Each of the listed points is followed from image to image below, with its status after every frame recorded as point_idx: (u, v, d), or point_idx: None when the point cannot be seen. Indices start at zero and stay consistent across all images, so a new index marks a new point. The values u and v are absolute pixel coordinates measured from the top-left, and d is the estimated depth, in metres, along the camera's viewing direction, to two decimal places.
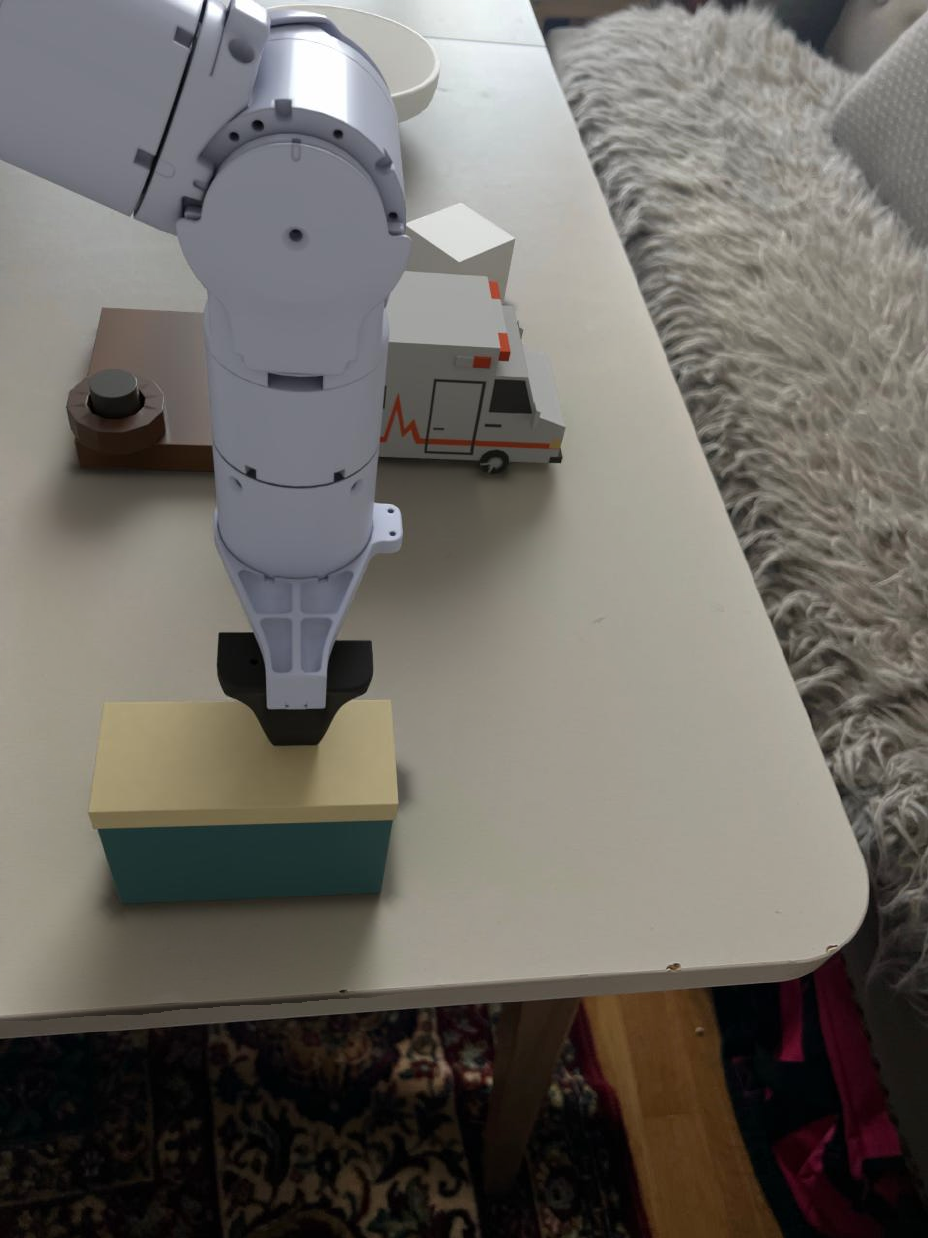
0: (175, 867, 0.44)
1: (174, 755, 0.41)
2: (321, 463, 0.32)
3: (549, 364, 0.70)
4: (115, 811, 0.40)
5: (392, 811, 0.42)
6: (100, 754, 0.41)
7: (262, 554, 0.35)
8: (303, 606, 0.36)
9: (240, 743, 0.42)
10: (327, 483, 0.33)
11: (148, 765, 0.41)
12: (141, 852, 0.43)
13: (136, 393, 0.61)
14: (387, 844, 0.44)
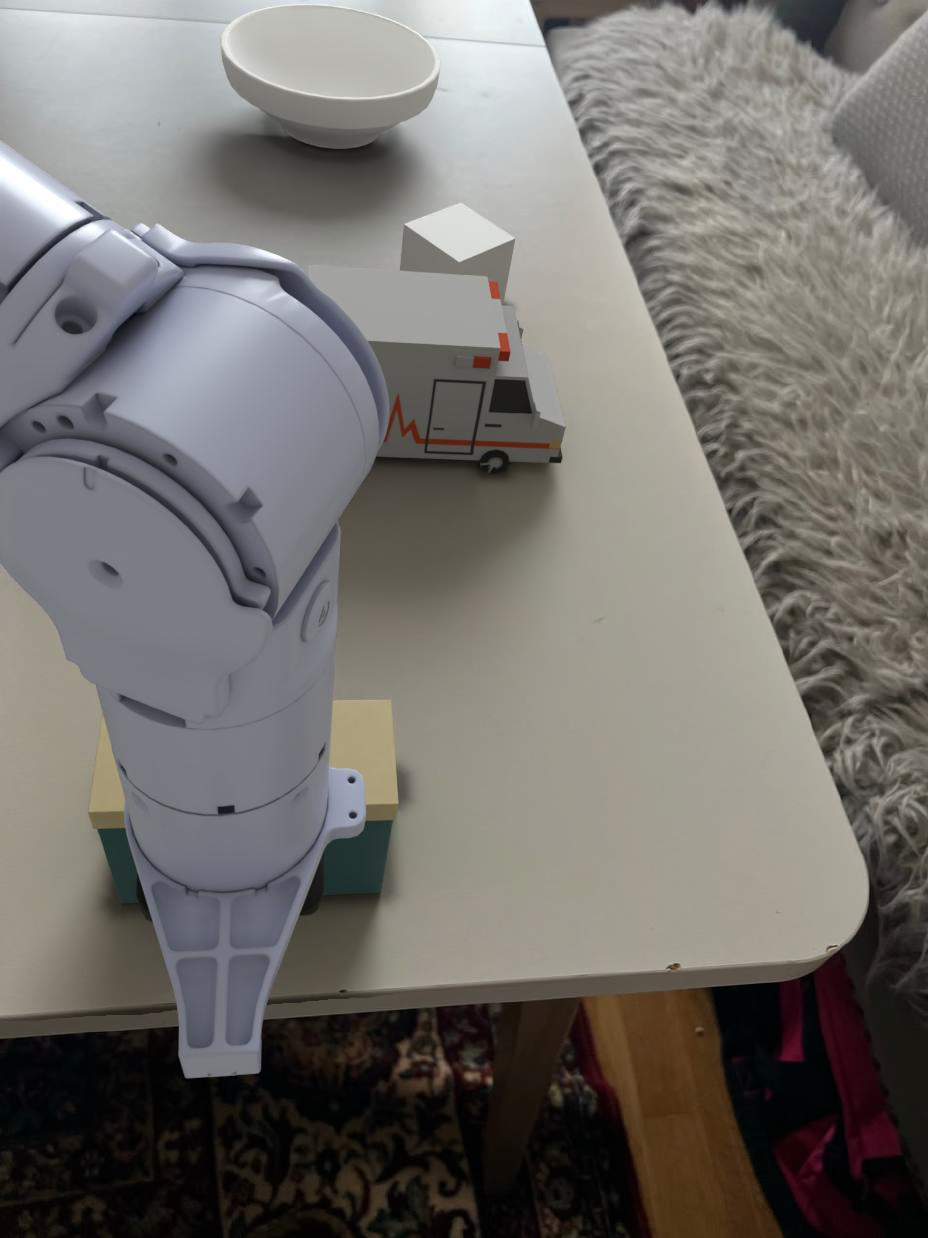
0: None
1: None
2: (197, 794, 0.24)
3: (549, 364, 0.70)
4: (115, 811, 0.40)
5: (392, 811, 0.42)
6: (100, 754, 0.41)
7: (181, 869, 0.28)
8: (234, 931, 0.28)
9: None
10: (258, 807, 0.25)
11: None
12: None
13: None
14: (387, 844, 0.44)
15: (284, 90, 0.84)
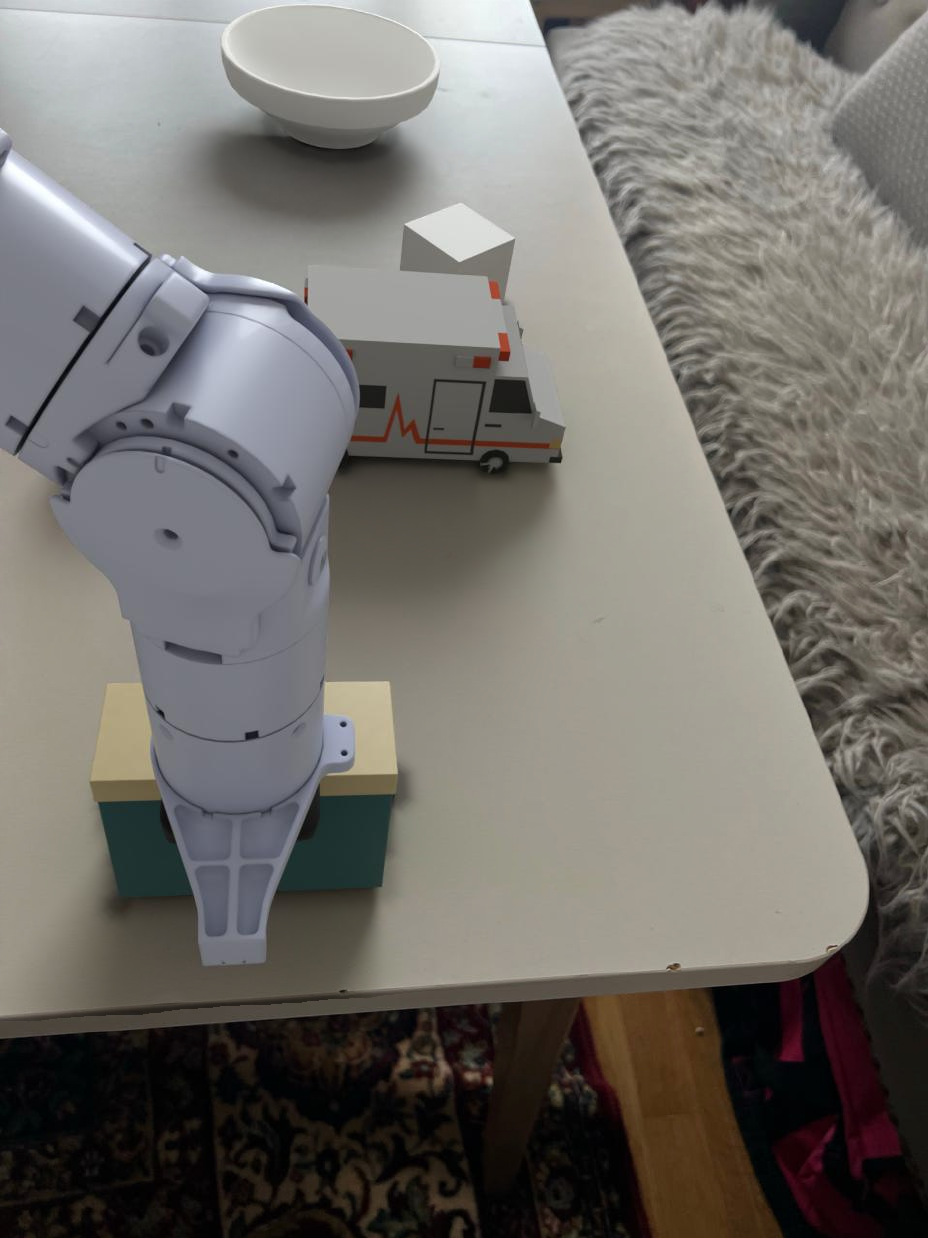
0: (175, 851, 0.44)
1: None
2: (228, 723, 0.29)
3: (549, 364, 0.70)
4: (116, 780, 0.40)
5: (392, 783, 0.42)
6: (102, 729, 0.42)
7: (199, 793, 0.33)
8: (244, 846, 0.33)
9: None
10: (264, 735, 0.30)
11: (150, 739, 0.41)
12: (141, 831, 0.43)
13: None
14: (387, 825, 0.44)
15: (284, 90, 0.84)
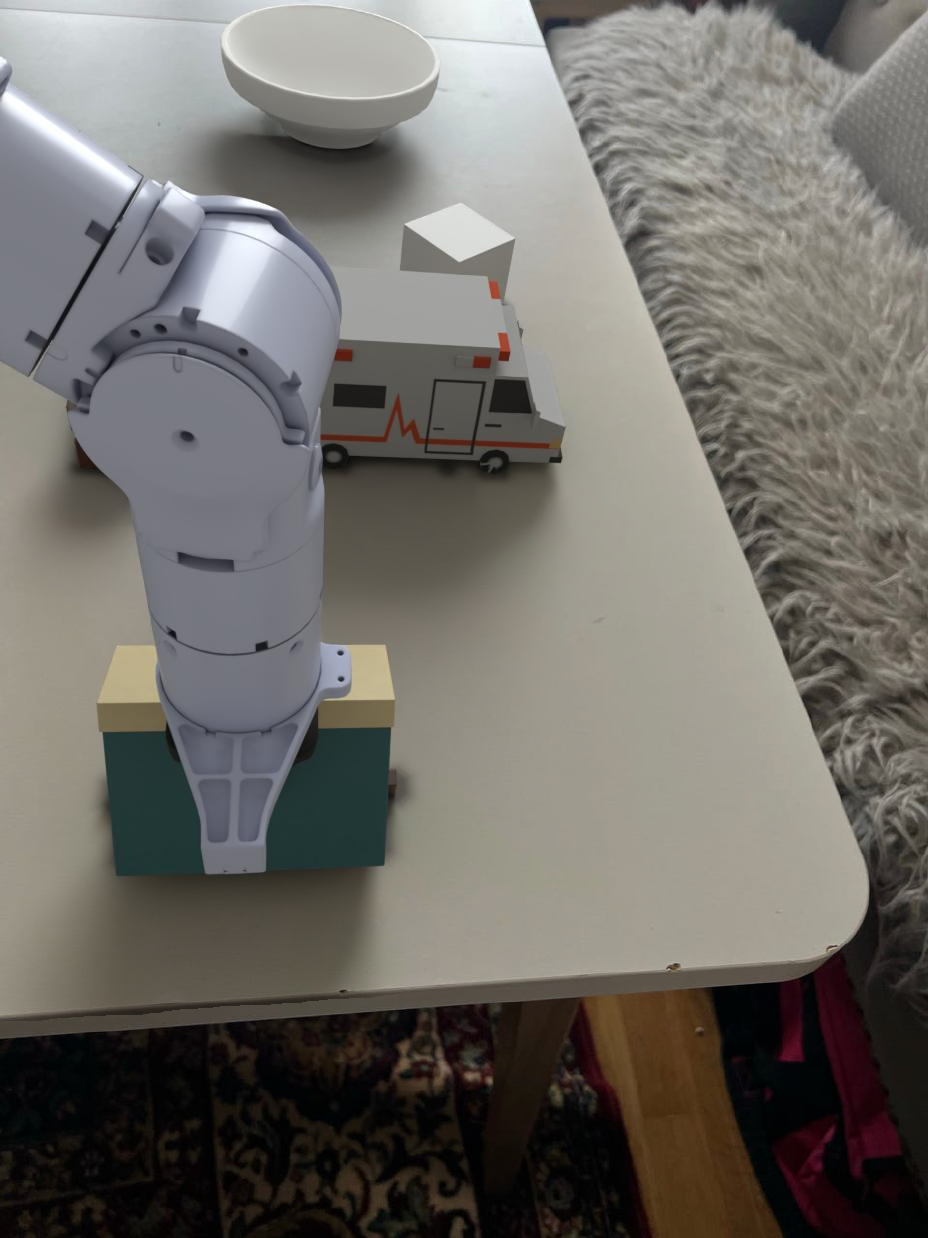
0: (175, 807, 0.44)
1: None
2: (240, 635, 0.31)
3: (549, 364, 0.70)
4: (122, 702, 0.41)
5: (389, 711, 0.43)
6: (111, 672, 0.43)
7: (202, 711, 0.34)
8: (244, 763, 0.35)
9: None
10: (263, 649, 0.32)
11: None
12: (143, 777, 0.43)
13: None
14: (387, 773, 0.45)
15: (284, 90, 0.84)
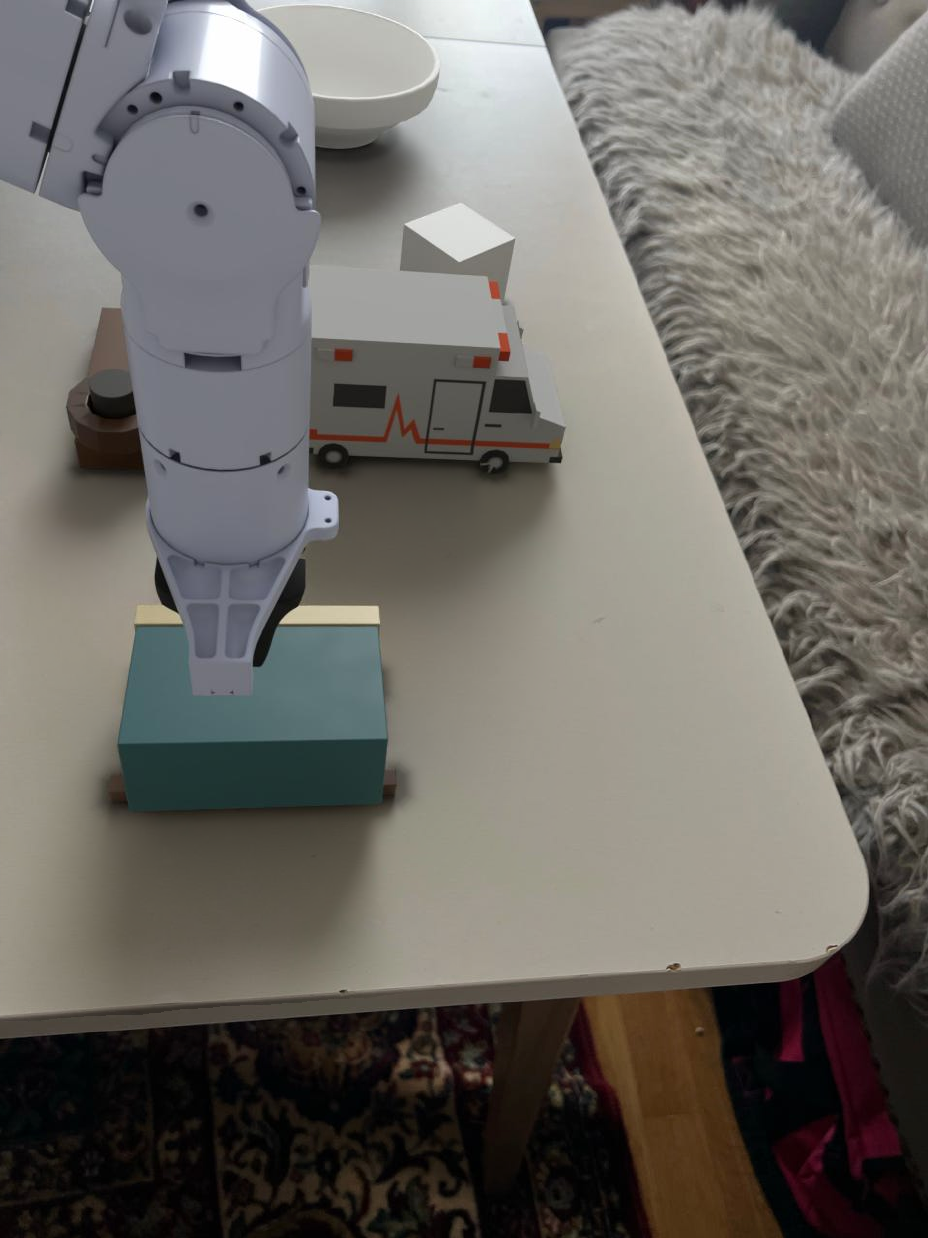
0: (188, 682, 0.48)
1: None
2: (245, 446, 0.32)
3: (549, 364, 0.70)
4: (158, 605, 0.51)
5: (375, 613, 0.52)
6: None
7: (191, 539, 0.35)
8: (232, 592, 0.35)
9: None
10: (251, 467, 0.33)
11: None
12: (163, 658, 0.49)
13: None
14: (379, 659, 0.50)
15: None
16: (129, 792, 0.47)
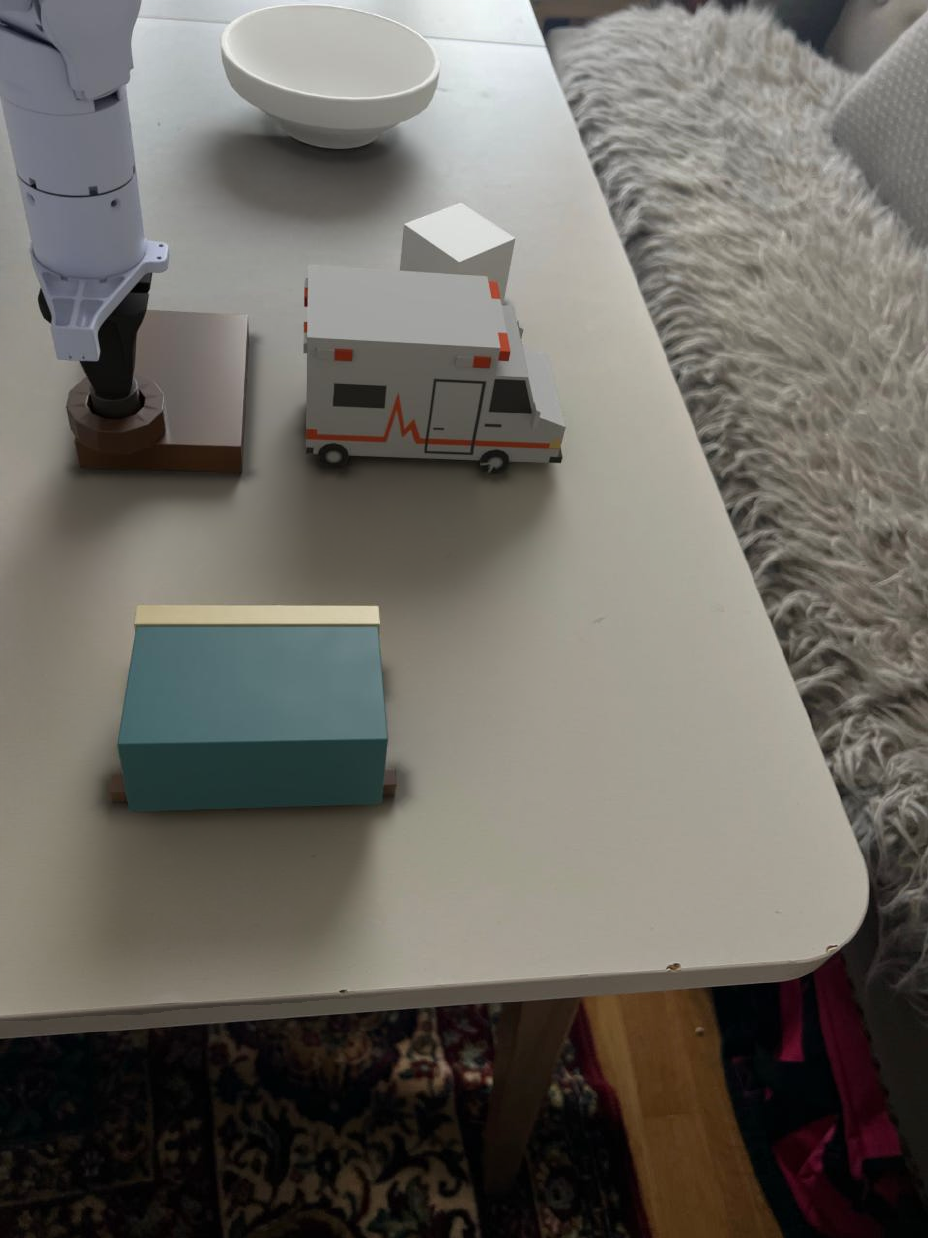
0: (188, 682, 0.48)
1: None
2: (128, 161, 0.50)
3: (549, 364, 0.70)
4: (158, 605, 0.51)
5: (375, 613, 0.52)
6: None
7: (56, 257, 0.51)
8: (86, 295, 0.52)
9: None
10: (90, 194, 0.49)
11: None
12: (163, 658, 0.49)
13: (136, 396, 0.61)
14: (379, 659, 0.50)
15: (284, 90, 0.84)
16: (129, 792, 0.47)
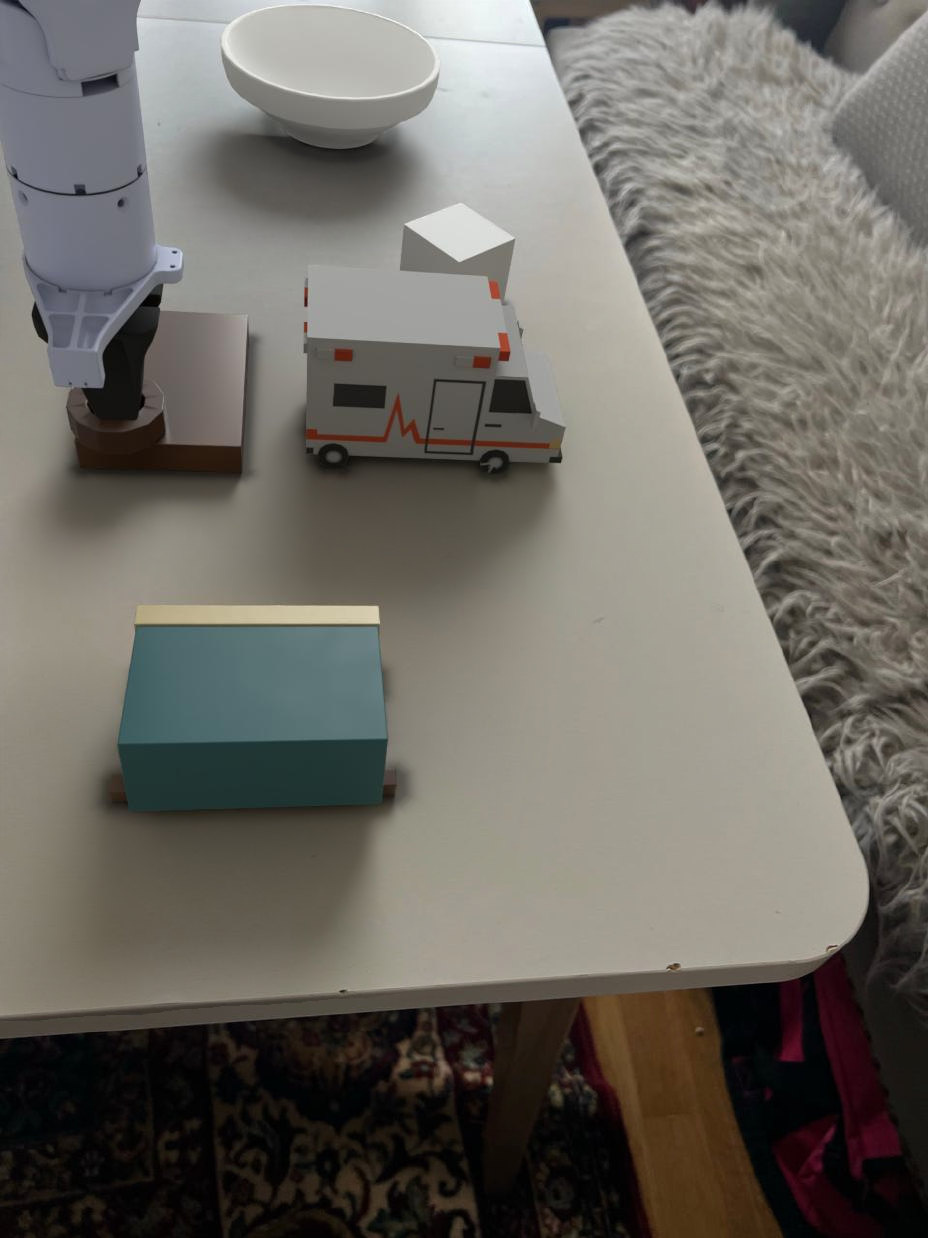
0: (188, 682, 0.48)
1: None
2: (129, 159, 0.42)
3: (549, 364, 0.70)
4: (158, 605, 0.51)
5: (375, 613, 0.52)
6: None
7: (53, 266, 0.44)
8: (89, 311, 0.44)
9: None
10: (93, 193, 0.41)
11: None
12: (163, 658, 0.49)
13: None
14: (379, 659, 0.50)
15: (284, 90, 0.84)
16: (129, 792, 0.47)
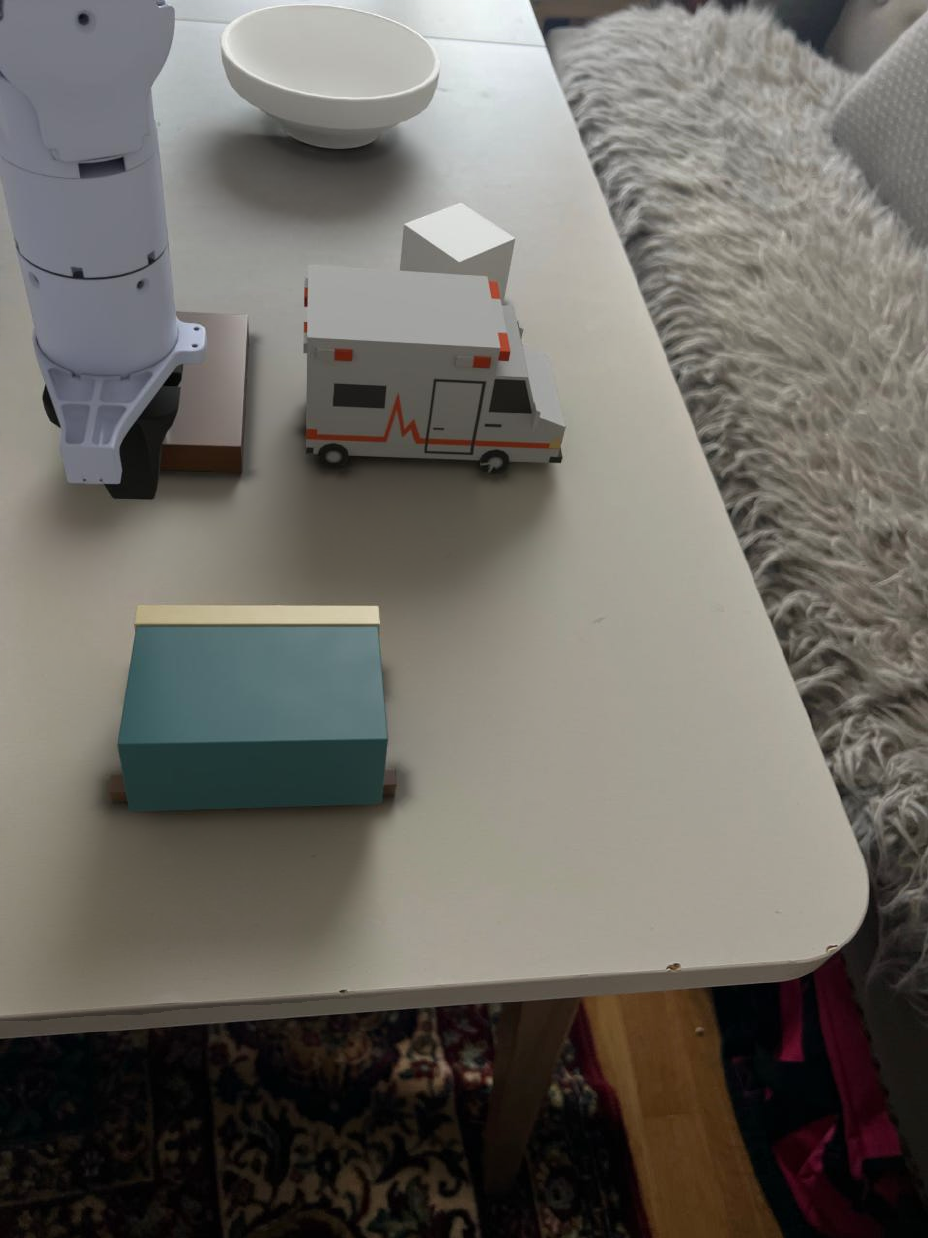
0: (188, 682, 0.48)
1: None
2: (136, 246, 0.38)
3: (549, 364, 0.70)
4: (158, 605, 0.51)
5: (375, 613, 0.52)
6: None
7: (67, 351, 0.40)
8: (104, 398, 0.41)
9: None
10: (111, 276, 0.38)
11: None
12: (163, 658, 0.49)
13: None
14: (379, 659, 0.50)
15: (284, 90, 0.84)
16: (129, 792, 0.47)
